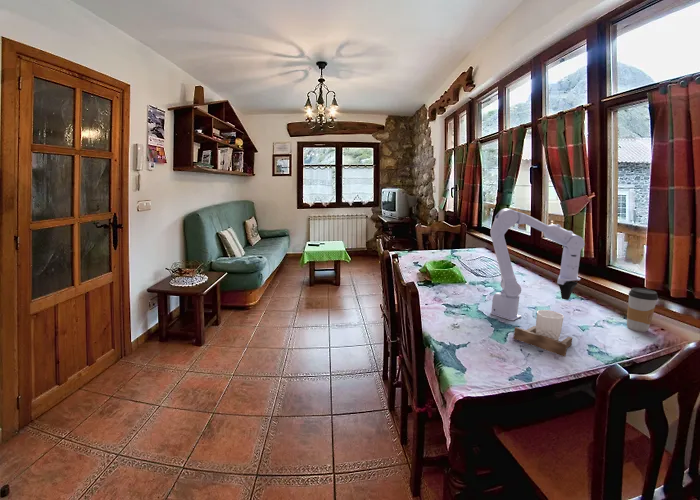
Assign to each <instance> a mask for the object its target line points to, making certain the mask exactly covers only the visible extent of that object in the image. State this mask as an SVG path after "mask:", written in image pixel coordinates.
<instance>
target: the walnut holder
mask: <svg viewBox="0 0 700 500" xmlns="http://www.w3.org/2000/svg"><path fill="white" fill-rule="evenodd" d="M513 339H514V340H517V341H519V342H523V343H525V344H528V345H530V346H533V347H535V348H539V349H542V350H544V351H546V352H547V351H548V352H550V353H553V354H555V355H557V356H558V355H559V356H562V357H566V356H567V350H568V349H567V348H569V347H571V346H572V344H573V337H572V336H567V337H566V338H564V339H563V340H561V341H560V340H559V341H558V340H555V339H552V338H548V337H545V336H542V335H539V334H536V325H533V326H532V327H529V328H527V329H524V328H520V327H517V326H515V327H514V330H513Z"/></svg>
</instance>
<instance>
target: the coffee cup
mask: <svg viewBox="0 0 700 500" xmlns="http://www.w3.org/2000/svg"><path fill="white" fill-rule="evenodd" d="M658 297H659V296H658V292H657V291H655V290H651V289H649V288H641V287H632V288H631V289H630V290H629V292H628V302H627V313H626V326H627V327H626V328H628V329H629V330H632V331H636V332H642V333H646V332H648V331H649V330H650V325H651V323H652V319H653V316H654V312H655V308H656V304H657V301H658V300H659V298H658Z"/></svg>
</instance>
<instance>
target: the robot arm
mask: <svg viewBox="0 0 700 500" xmlns="http://www.w3.org/2000/svg"><path fill="white" fill-rule="evenodd" d="M514 225H526V226H528V227H531V228H533V229H535V230H537V231H539V232H541V233H543V236H544V238H546V239H548V240H550V241H552V242H555V243H557V244H559V245H562V246H563V247H562V248H563V249H562V255H561V261H560V262H561V263H560V269H559V270H560V271H559V275H558V277H557V282H556V284H557V285H558V286H559V290H560V296H561V297H560V298H561V300H565V301H568V300H569V299H570V298H571V296H572V293H573V291H574V290H575V287H576V286H577V285H578V281H581V279H582V278H581V277H579V274H578V273H579V267H580V260H581V251H582V250H583V249H584V247H585V245H586V243H585V240H584V238H583V237H582V236H580V235H578V234H575V233H574V232H573V231H572V230H568V229H565V228H563V227H562V225H561V224H558V223H556V224H553V223H552V224H546V223H544V222H542V221H540V220H539V219H537V218H535V217H533V216H530V215H529V214H527V213H523V212H520V211H517V210H514V209H511V208H502V209H500V210H499V211H498V212H497V213H496V215H495V216H494V221H493V223H492V225H491V228H490V232H489V233H490V238H491V241H492V245H493V249H494V253H495V256H496V259H497V260H496V261H497V265H498V268H499V272H500V279H501V280H500V288H502V289H501V291H500V292H498V291H497V292H495V293H494V294H493V297H492V303H491V312H490V313H489V314H490V315H493V316H497V317H499V318H502V319H506V320H509V321H512V322H513V321H514V320H515V321H516V320H517V319H519V318H521V317H522V315H521V314H519V304H520V297H521V296H520V295H521V293H522V287H521V285H520V284H519V283H518V281H517V278H516V275H515V273H514V269H513V266H512V262H511V258H510V254H509V249H508V246H507V242H506V239H505V234H506V233H507V232H508V230H509V229H510V228H512V227H513V226H514Z"/></svg>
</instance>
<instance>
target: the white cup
mask: <svg viewBox="0 0 700 500" xmlns="http://www.w3.org/2000/svg"><path fill="white" fill-rule="evenodd" d="M564 319H565V316H564V314H562V313H560V312H557V311H554V310H553V311H552V310H547V309H540V310H537V311H536V320H535V326H536V334H539V335H542V336H545V337H548V338H552V339H555V340H558V341H560V337H561V334H562V333H561V332H562V328H563V324H564Z"/></svg>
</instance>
